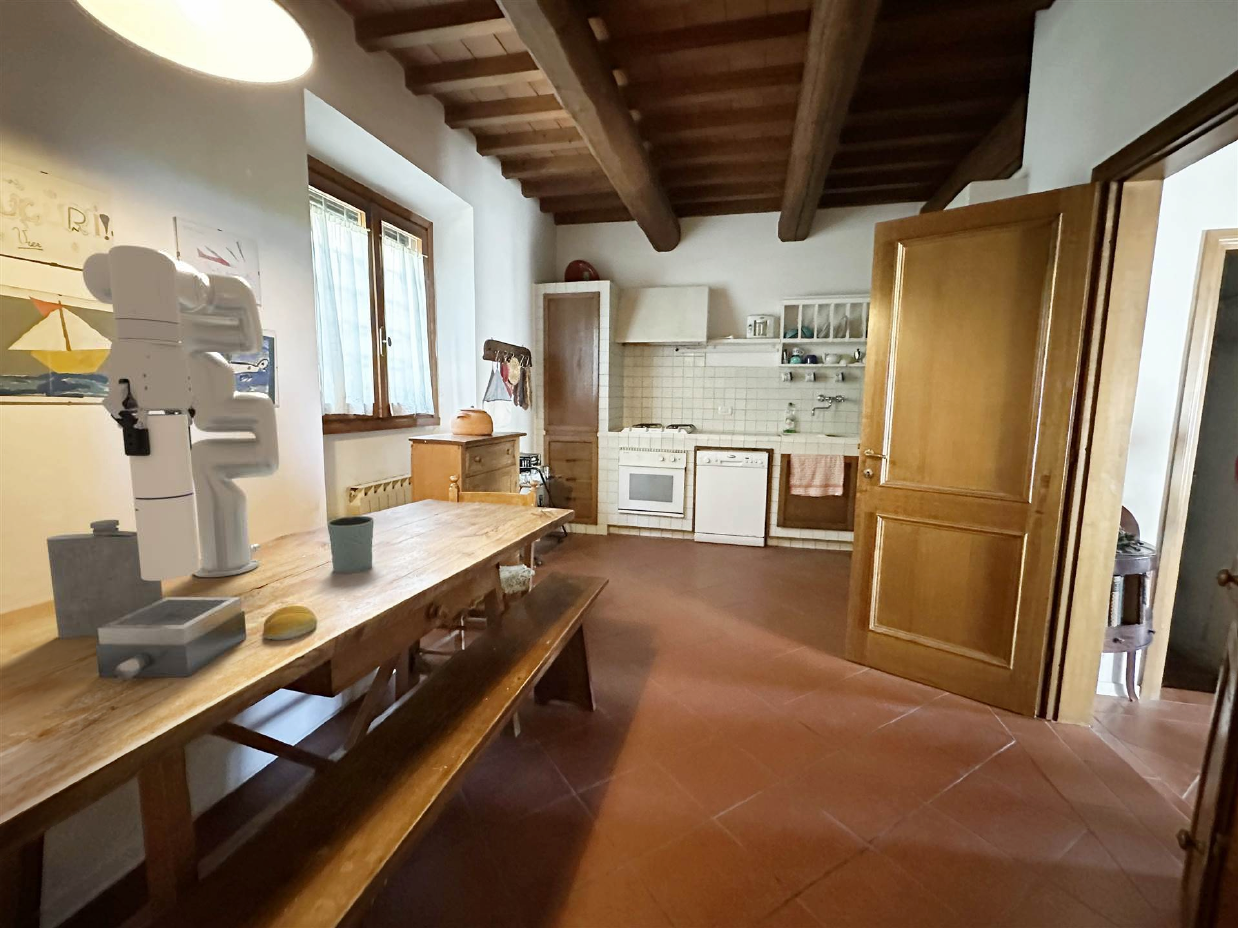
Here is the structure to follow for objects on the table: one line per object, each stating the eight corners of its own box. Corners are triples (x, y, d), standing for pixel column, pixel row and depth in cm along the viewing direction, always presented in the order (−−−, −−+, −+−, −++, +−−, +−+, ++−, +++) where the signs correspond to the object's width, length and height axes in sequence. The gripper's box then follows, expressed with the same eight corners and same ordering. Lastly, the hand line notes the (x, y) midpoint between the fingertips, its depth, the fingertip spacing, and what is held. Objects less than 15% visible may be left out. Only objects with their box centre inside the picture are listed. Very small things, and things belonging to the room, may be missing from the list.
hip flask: (53, 639, 91) (39, 525, 88) (73, 628, 95) (60, 519, 92) (157, 634, 93) (146, 523, 91) (172, 624, 97) (163, 517, 95)
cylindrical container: (166, 582, 80) (151, 416, 77) (128, 578, 81) (112, 415, 78) (211, 567, 87) (199, 414, 84) (176, 564, 88) (162, 413, 85)
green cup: (368, 559, 138) (366, 513, 136) (381, 568, 130) (379, 521, 129) (324, 567, 131) (322, 519, 129) (336, 577, 123) (333, 527, 122)
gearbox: (169, 637, 92) (166, 596, 91) (246, 638, 92) (243, 596, 91) (79, 687, 76) (73, 638, 75) (172, 687, 76) (167, 638, 75)
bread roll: (263, 646, 90) (261, 623, 89) (264, 626, 97) (263, 605, 97) (318, 635, 94) (317, 613, 94) (316, 617, 102) (315, 597, 101)
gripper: (171, 340, 88) (180, 447, 90) (65, 327, 71) (79, 459, 73) (217, 341, 88) (225, 447, 90) (123, 328, 71) (135, 460, 73)
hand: (160, 452), depth 81 cm, fingers closed on cylindrical container, 7 cm apart
